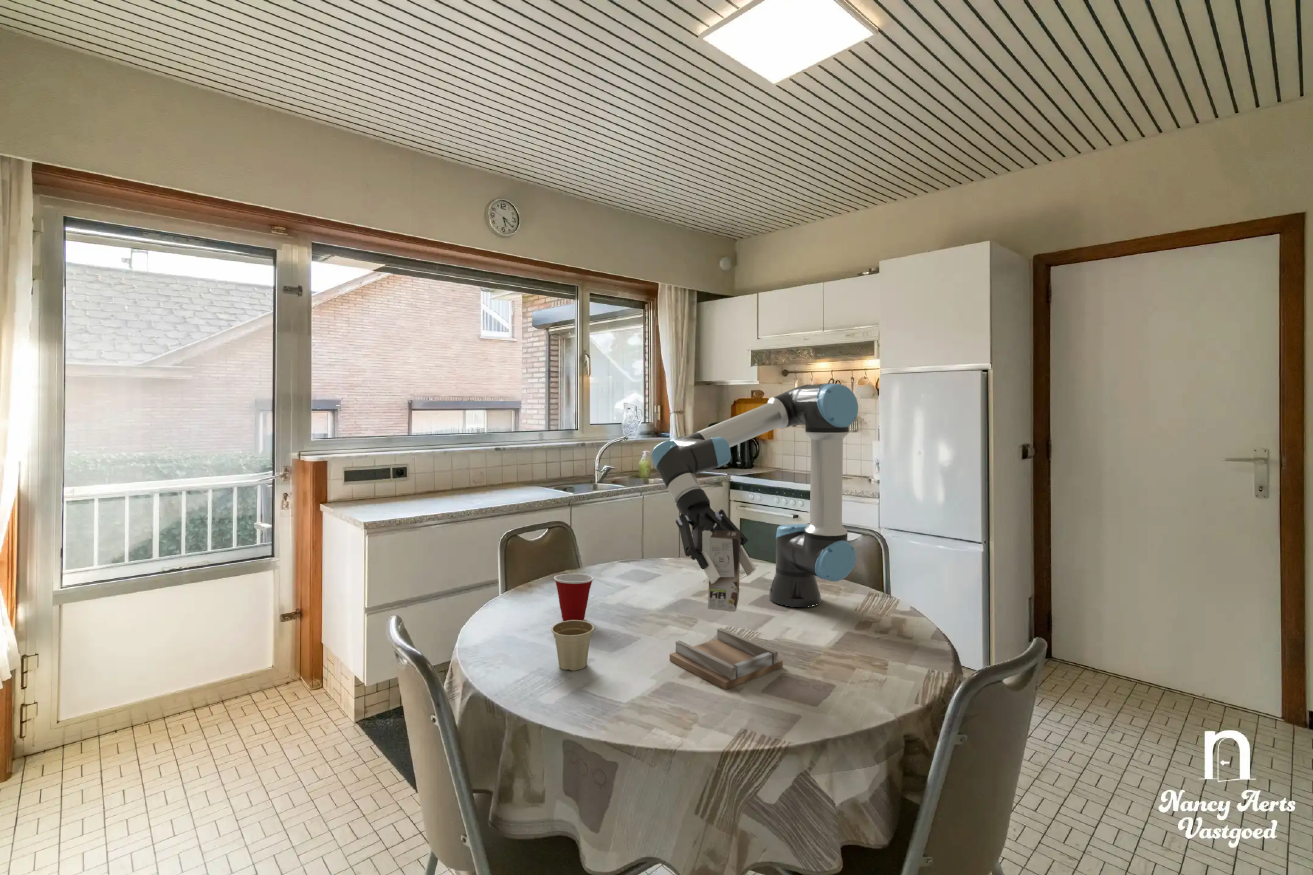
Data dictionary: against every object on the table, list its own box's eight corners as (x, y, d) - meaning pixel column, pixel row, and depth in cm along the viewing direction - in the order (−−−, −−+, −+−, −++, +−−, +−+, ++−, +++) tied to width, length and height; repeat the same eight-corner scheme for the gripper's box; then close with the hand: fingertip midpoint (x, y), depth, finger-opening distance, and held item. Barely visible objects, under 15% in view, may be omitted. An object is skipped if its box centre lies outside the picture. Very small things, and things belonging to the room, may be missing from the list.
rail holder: (725, 642, 151) (726, 626, 150) (782, 667, 136) (783, 649, 136) (669, 660, 139) (669, 643, 139) (725, 689, 125) (725, 670, 125)
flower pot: (575, 678, 130) (575, 638, 129) (542, 667, 135) (542, 629, 134) (602, 662, 138) (602, 625, 137) (570, 653, 143) (570, 617, 142)
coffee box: (736, 612, 132) (739, 538, 131) (707, 609, 133) (709, 536, 133) (739, 599, 141) (741, 530, 140) (711, 597, 142) (713, 528, 141)
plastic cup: (600, 615, 169) (600, 572, 168) (583, 629, 158) (583, 583, 158) (565, 611, 172) (565, 569, 171) (546, 623, 162) (546, 579, 161)
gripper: (716, 502, 155) (760, 577, 144) (643, 510, 141) (686, 593, 130) (731, 484, 151) (778, 559, 139) (658, 490, 137) (704, 575, 125)
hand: (734, 576), depth 134 cm, fingers closed on coffee box, 11 cm apart
